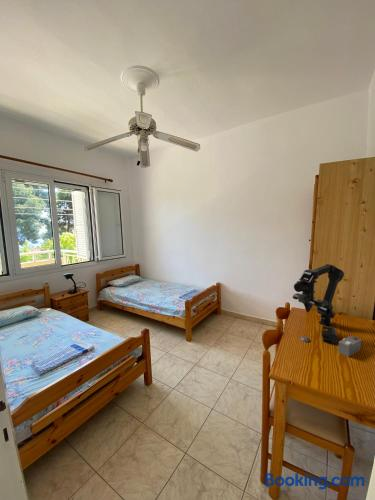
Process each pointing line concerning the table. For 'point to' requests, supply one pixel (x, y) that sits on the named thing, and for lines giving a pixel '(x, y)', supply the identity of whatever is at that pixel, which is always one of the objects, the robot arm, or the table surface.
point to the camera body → (349, 345)
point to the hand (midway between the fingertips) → (307, 312)
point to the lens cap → (304, 339)
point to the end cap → (329, 335)
